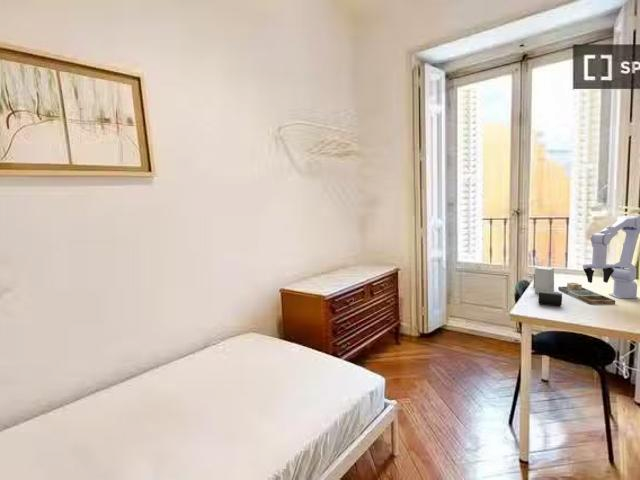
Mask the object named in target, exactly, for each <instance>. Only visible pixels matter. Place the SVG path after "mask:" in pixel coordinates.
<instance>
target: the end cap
mask: <svg viewBox="0 0 640 480" xmlns="http://www.w3.org/2000/svg"><path fill="white" fill-rule="evenodd" d="M562 293H563V292H562ZM562 293H561V292H560V291H559V292H558V291H554V292H547V291H539V293H538V304H539V305H544V306H545V305H546V306H555V307H561V306H562V305H563V304H562V303H563V294H562Z"/></svg>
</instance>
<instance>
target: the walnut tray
mask: <svg viewBox="0 0 640 480" xmlns="http://www.w3.org/2000/svg"><path fill="white" fill-rule="evenodd" d="M578 300H579V301H581V300H582V302H584V303H586V304H588V305H616V300H615V299H613V298H610V297H608V296H605V295H602V296H579V299H578Z"/></svg>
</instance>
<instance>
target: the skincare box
mask: <svg viewBox="0 0 640 480" xmlns="http://www.w3.org/2000/svg"><path fill="white" fill-rule="evenodd" d="M534 274H535V287H534V293H535V294H539V291H547V292H555V268H554V267H545V266H544V267H543V266H537V267H535V268H534Z"/></svg>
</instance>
